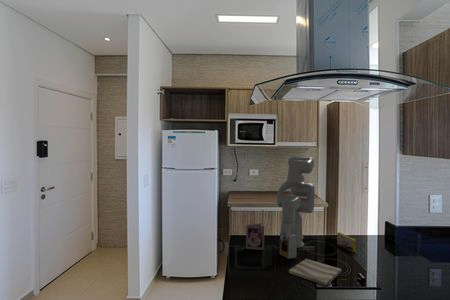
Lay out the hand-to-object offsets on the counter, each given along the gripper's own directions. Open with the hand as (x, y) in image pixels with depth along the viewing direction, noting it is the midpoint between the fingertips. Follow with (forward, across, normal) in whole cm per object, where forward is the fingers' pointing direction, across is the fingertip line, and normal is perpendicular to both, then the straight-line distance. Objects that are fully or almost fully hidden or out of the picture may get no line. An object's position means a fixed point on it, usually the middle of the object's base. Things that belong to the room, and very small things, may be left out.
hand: (288, 248), depth 170 cm
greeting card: (+6, 0, -24) cm, 24 cm away
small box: (+4, 0, 0) cm, 4 cm away
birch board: (+5, +8, +20) cm, 22 cm away
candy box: (+6, -40, +20) cm, 45 cm away
